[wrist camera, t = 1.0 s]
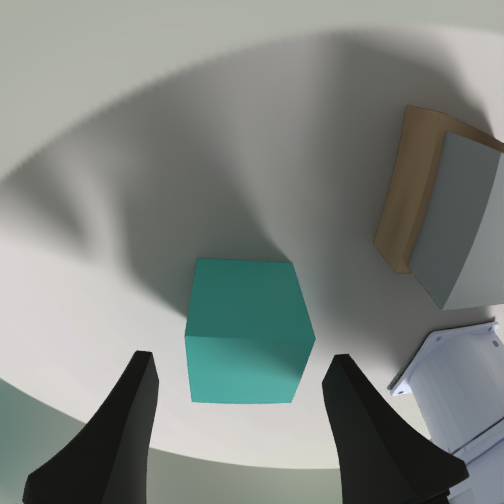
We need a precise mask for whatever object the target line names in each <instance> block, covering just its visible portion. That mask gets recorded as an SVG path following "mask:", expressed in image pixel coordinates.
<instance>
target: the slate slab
mask: <svg viewBox="0 0 504 504" xmlns="http://www.w3.org/2000/svg"><path fill="white" fill-rule="evenodd" d="M407 266H408V268H409V269H410V270H411V271H412V273H413V274H414V275H415V277H416V278H417V279H418V280H419V282H420V283H421V284H422V286H423V287H424V288H425V290H426V291H427V292H428V294H429V295H430V296H431V298H432V299H433V300H434V302H435V303H436V304H437V306H438V307H439V309H440V310H441V311H448V310H457V309H466V308H474V307H482V306H490V305H497V304H504V153H502V152H499V151H497V150H495V149H493V148H490V147H488V146H485V145H483V144H481V143H478V142H476V141H473V140H470V139H468V138H465V137H462V136H460V135H457V134H454V133H451V132H448V131H446V134H445V140H444V144H443V149H442V154H441V158H440V163H439V167H438V171H437V175H436V179H435V183H434V186H433V190H432V194H431V197H430V201H429V204H428V207H427V211H426V214H425V217H424V220H423V223H422V226H421V229H420V232H419V235H418V238H417V241H416V244H415V247H414V249H413V252H412V255H411V257H410V260H409V263H408V265H407Z"/></svg>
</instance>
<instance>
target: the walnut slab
mask: <svg viewBox="0 0 504 504" xmlns="http://www.w3.org/2000/svg"><path fill="white" fill-rule="evenodd" d="M446 131H448V132H451V133H454V134H457V135H460V136H462V137H465V138H468V139H470V140H473V141H476V142H478V143H481V144H483V145H485V146H488V147H490V148H493V149H495V150H497V151H499V152H502V153H504V143H502V142H500V141H498V140H497V139H495V138H493V137H491V136H489V135H487V134H486V133H484V132H482V131H480V130H478V129H476V128H474V127H472V126H470V125H468V124H465V123H463V122H461V121H459V120H457V119H455V118H452V117H450V116H448V115H445V114H443V113H440V112H436V111H432V110H427V109H423V108H418V107H413V106H408V105H406V111H405V117H404V123H403V128H402V133H401V138H400V143H399V148H398V153H397V157H396V162H395V166H394V171H393V175H392V179H391V183H390V187H389V191H388V195H387V198H386V202H385V206H384V209H383V213H382V217H381V220H380V223H379V227H378V230H377V234H376V237H375V240H374V243H373V244H374V245H375V247H376V248H377V249H378V250H379V252H380V253H381V254H382V256H383V257H384V258H385V260H386V261H387V262H388V264H389V265H390V266H391V268H392V269H393V270H394V272H395V273H411V274H413V273H412V271H411V270H410V269H409V268H408V266H407V265H408V263H409V260H410V257H411V255H412V252H413V249H414V247H415V244H416V241H417V238H418V235H419V232H420V229H421V226H422V223H423V220H424V217H425V214H426V211H427V207H428V204H429V201H430V197H431V194H432V190H433V186H434V183H435V179H436V175H437V171H438V167H439V163H440V158H441V154H442V149H443V144H444V140H445V134H446Z"/></svg>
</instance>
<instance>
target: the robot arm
mask: <svg viewBox="0 0 504 504" xmlns="http://www.w3.org/2000/svg"><path fill="white" fill-rule="evenodd" d="M498 326H499V324H498V322H491V323H485V324H480V325H474V326H468V327H462V328H455V329H449V330H442V331H435V332H432V333H431V334H429V336H428V337H427V339H426V340H425V342H424V344H423V345H422V347H421V348H420V350H419V351H418V353H417V355H416V356H415V358H414V359H413V361H412V362H411V364H410V365H409V366H408V368H407V369H406V371H405V372H404V374H403V375H402V376H401V378H400V379H399V381H398V382H397V383H396V385H395V386H394V387H393V389H392V390H391V392H390V394H391V396H398V395H403V394H407V393H412V392H413V395H414V397H415V399H416V402H417V404H418V406H419V408H420V411H421V413H422V416H423V418H424V420H425V423H426V425H427V428H428V430H429V433H430V435H431V438H432V440H433V443H434V444H433V443H432V442H430V441H429V440H428V439H426V438H425V437H424V436H422V435H421V434H420V433H418V432H417V431H416V430H415V429H414V428H412V427H411V426H410V425H409V424H408V423H407V422H406V421H405V420H404V419H402V418H401V417H400V416H399V415H398V414H397V413H396V411H395V410H394V409H393V408H392V407H391V406H390V405H389V404H388V403H387V402H386V401H385V399H384V398H383V397H382V396H381V395H380V393H379V392H378V391H377V390H376V389H375V387H374V386H373V385H372V384H371V382H370V381H369V380H368V379H367V377H366V376H365V375H364V373H363V372H362V371H361V370H360V368H359V367H358V366H357V364H356V363H355V362H354V360H353V359H352V358H351V357H350V355H349V354H340V355H335V356H334V358H333V360H332V362H331V364H330V367H329V369H328V371H327V373H326V375H325V377H324V379H323V381H322V388H323V396H324V402H325V407H326V411H327V414H328V418H329V422H330V425H331V429H332V433H333V436H334V440H335V444H336V447H337V452H338V457H339V465H340V472H341V483H342V498H343V504H504V345H503V343H502V342H501V340H500V339H499V338H498V336H497V335H496V333H495V331H496V330H497V328H498ZM158 388H159V379H158V375H157V371H156V367H155V363H154V358H153V354H152V352H147V351H138V350H137V351H136V352H135V353H134V355H133V356H132V358H131V360H130V362H129V364H128V365H127V367H126V369H125V370H124V372H123V374H122V375H121V377H120V379H119V380H118V382H117V383H116V385H115V386H114V388H113V389H112V391H111V392H110V394H109V395H108V397H107V398H106V400H105V401H104V402H103V404H102V405H101V406H100V408H99V409H98V410H97V412H96V413H95V414H94V416H93V417H92V418H91V419H90V421H89V422H88V423H87V424H86V426H84V428H83V429H82V430H81V431H80V432H79V433H78V434H77V435H76V436H75V437H74V438H73V439H72V440H71V441H70V442H69V443H68V444H67V445H66V446H65V447H64V448H63V449H62V450H61V451H59V452H58V453H57V454H56V455H55V456H54V457H52V458H51V459H50V460H49V461H48V462H46V463H45V464H44V465H42V466H41V467H40V468H38V469H36V470H35V471H34V472H33V473H31V474H30V475H28V478H27V481H26V484H25V488H24V494H23V499H22V501H23V503H24V504H146V473H147V456H148V448H149V443H150V438H151V432H152V427H153V422H154V417H155V412H156V407H157V399H158ZM14 504H17V503H14Z"/></svg>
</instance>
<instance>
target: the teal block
mask: <svg viewBox="0 0 504 504" xmlns="http://www.w3.org/2000/svg"><path fill="white" fill-rule="evenodd" d="M315 339H316V338H315V335H314V331H313V328H312V325H311V321H310V318H309V315H308V312H307V308H306V305H305V302H304V298H303V295H302V292H301V289H300V286H299V282H298V279H297V276H296V273H295V270H294V267H293V264H292V263H289V262H267V261H246V260H226V259H207V258H197V263H196V268H195V274H194V280H193V285H192V291H191V298H190V304H189V310H188V316H187V323H186V330H185V346H186V356H187V366H188V375H189V383H190V391H191V399H192V402H201V403H225V404H271V403H291V402H292V400H293V397H294V395H295V392H296V390H297V387H298V385H299V382H300V380H301V377H302V374H303V372H304V369H305V367H306V364H307V361H308V358H309V356H310V353H311V350H312V347H313V345H314V342H315Z"/></svg>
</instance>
